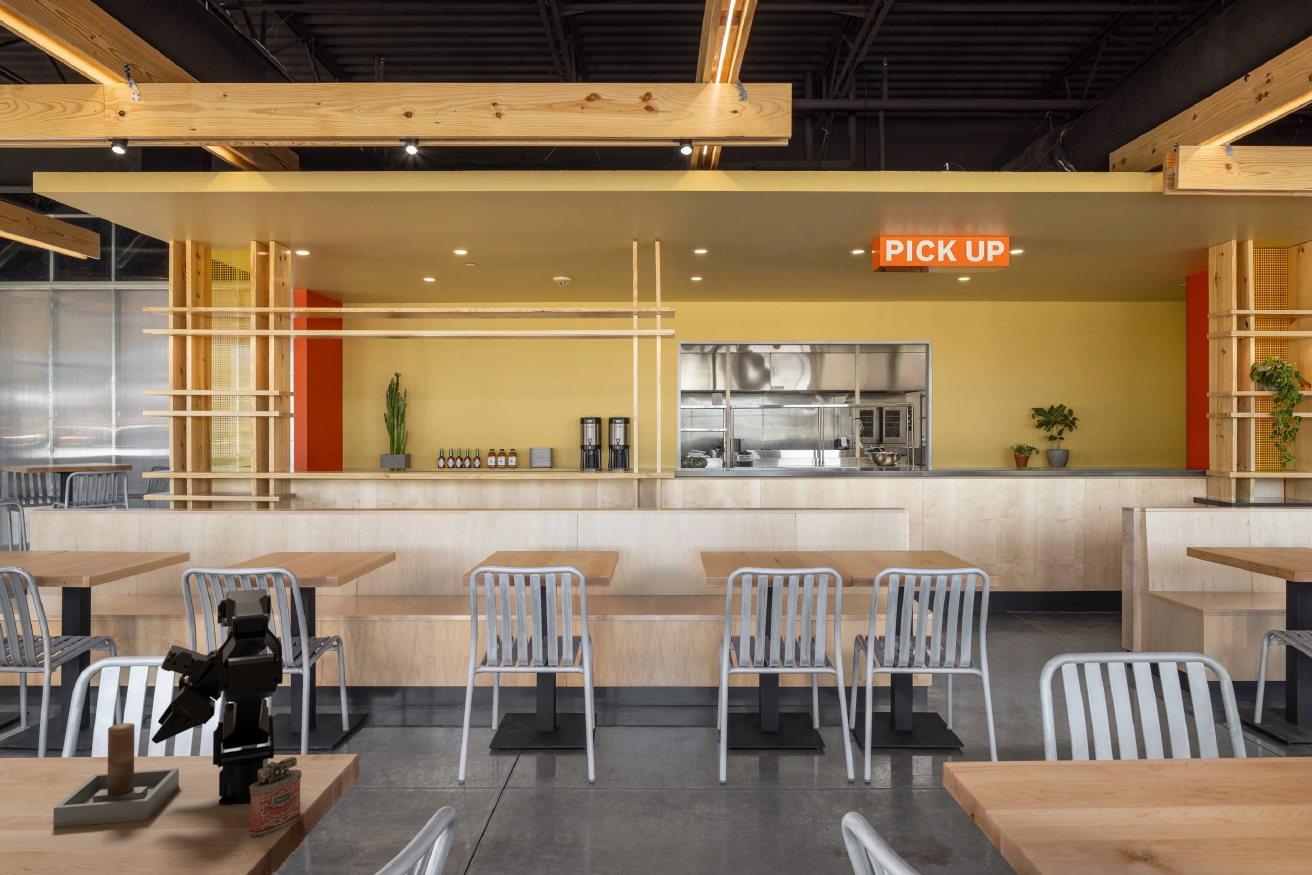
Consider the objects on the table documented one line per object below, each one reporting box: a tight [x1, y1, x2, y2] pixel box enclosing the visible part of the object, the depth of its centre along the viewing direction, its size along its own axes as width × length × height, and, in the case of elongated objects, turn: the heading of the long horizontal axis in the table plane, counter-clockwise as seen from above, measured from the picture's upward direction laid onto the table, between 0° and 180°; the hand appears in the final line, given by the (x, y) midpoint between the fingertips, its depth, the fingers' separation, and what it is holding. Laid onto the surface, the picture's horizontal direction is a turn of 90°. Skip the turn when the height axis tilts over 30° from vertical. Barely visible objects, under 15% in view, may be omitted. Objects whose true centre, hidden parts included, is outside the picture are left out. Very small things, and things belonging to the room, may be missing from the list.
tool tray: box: [52, 767, 180, 828], centre depth 130 cm, size 13×13×3 cm
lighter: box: [248, 756, 303, 840], centre depth 123 cm, size 8×3×10 cm, turn 148°
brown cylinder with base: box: [93, 722, 147, 803], centre depth 130 cm, size 7×4×12 cm, turn 102°
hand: (157, 732), depth 133 cm, fingers open, 9 cm apart
